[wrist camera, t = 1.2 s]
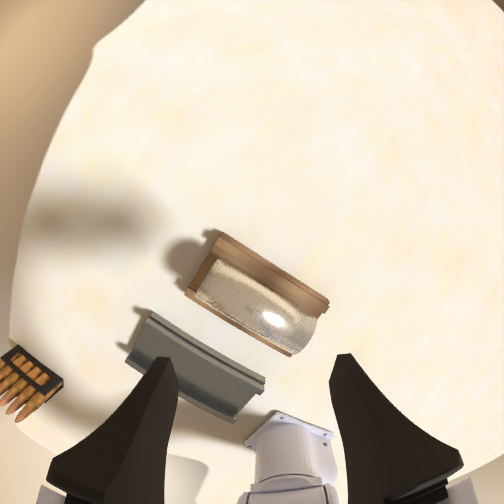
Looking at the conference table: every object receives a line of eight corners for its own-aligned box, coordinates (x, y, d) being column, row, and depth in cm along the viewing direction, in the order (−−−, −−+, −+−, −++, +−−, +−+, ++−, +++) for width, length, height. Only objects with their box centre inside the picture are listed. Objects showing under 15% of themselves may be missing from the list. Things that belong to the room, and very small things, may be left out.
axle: (312, 309, 25) (320, 327, 22) (288, 341, 26) (292, 362, 22) (222, 253, 25) (214, 262, 21) (200, 288, 26) (190, 302, 22)
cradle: (265, 377, 28) (265, 389, 26) (233, 412, 29) (231, 424, 27) (153, 311, 27) (145, 319, 25) (131, 354, 28) (124, 363, 26)
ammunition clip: (18, 352, 30) (-26, 383, 18) (18, 344, 30) (-28, 375, 18) (63, 387, 30) (21, 430, 19) (63, 379, 30) (19, 422, 18)
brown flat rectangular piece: (327, 298, 26) (331, 304, 25) (287, 351, 27) (288, 359, 26) (223, 232, 26) (220, 233, 24) (186, 291, 27) (182, 297, 25)
